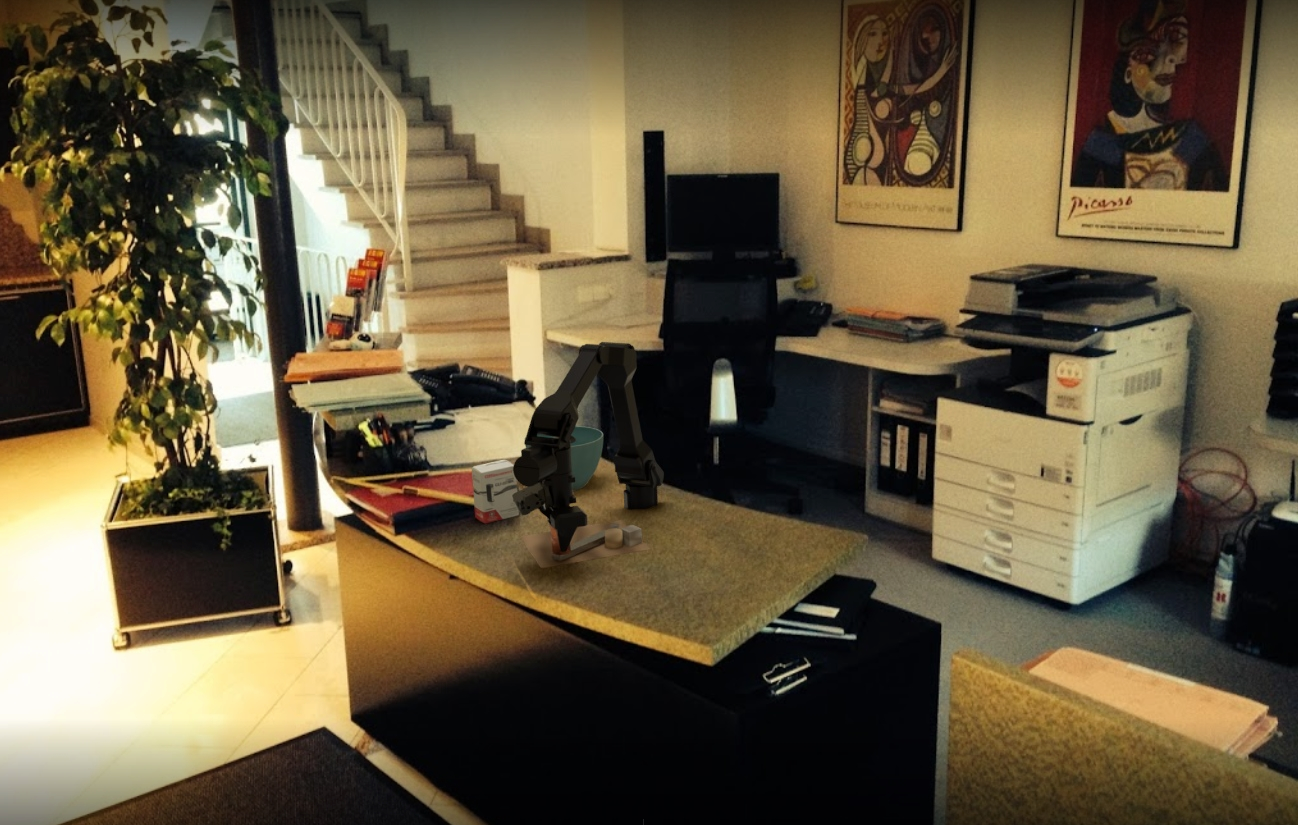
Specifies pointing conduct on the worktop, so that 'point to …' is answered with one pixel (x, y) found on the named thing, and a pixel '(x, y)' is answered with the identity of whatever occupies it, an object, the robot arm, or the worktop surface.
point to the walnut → (613, 538)
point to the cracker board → (543, 548)
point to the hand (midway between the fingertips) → (560, 547)
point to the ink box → (494, 491)
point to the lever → (574, 545)
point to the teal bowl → (584, 453)
